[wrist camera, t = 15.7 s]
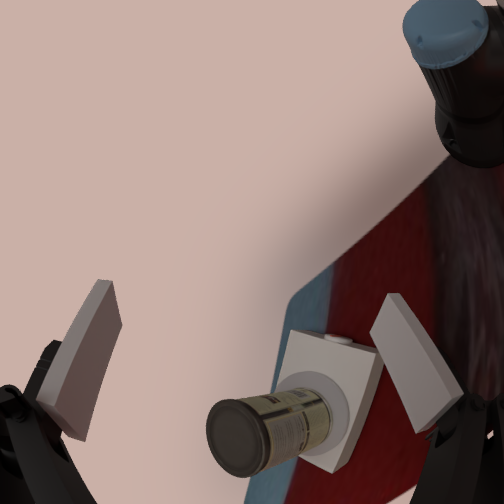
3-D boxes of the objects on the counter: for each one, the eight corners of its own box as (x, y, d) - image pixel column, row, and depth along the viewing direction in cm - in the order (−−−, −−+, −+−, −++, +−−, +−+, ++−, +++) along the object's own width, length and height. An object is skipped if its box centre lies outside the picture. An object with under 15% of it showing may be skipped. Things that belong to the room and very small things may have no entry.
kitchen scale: (388, 345, 36) (374, 348, 32) (347, 462, 33) (328, 475, 30) (309, 325, 47) (288, 324, 43) (281, 428, 45) (258, 435, 41)
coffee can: (283, 448, 37) (212, 471, 27) (273, 391, 41) (200, 401, 32) (338, 446, 30) (270, 483, 21) (327, 381, 35) (255, 396, 26)
